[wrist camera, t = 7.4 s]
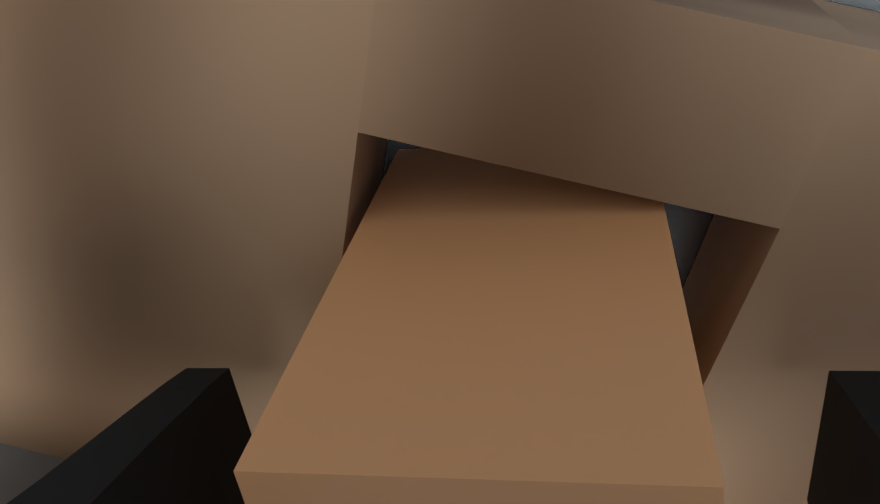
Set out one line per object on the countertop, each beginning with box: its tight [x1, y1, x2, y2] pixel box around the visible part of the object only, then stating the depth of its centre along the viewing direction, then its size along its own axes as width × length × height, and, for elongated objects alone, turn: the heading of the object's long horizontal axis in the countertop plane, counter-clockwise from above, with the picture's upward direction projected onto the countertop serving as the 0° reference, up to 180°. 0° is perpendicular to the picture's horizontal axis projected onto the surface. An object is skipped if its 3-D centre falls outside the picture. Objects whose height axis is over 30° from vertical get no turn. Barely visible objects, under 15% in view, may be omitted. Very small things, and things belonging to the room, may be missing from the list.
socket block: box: [0, 0, 880, 504], centre depth 10 cm, size 18×11×7 cm, turn 80°
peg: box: [233, 148, 725, 504], centre depth 10 cm, size 4×4×7 cm
